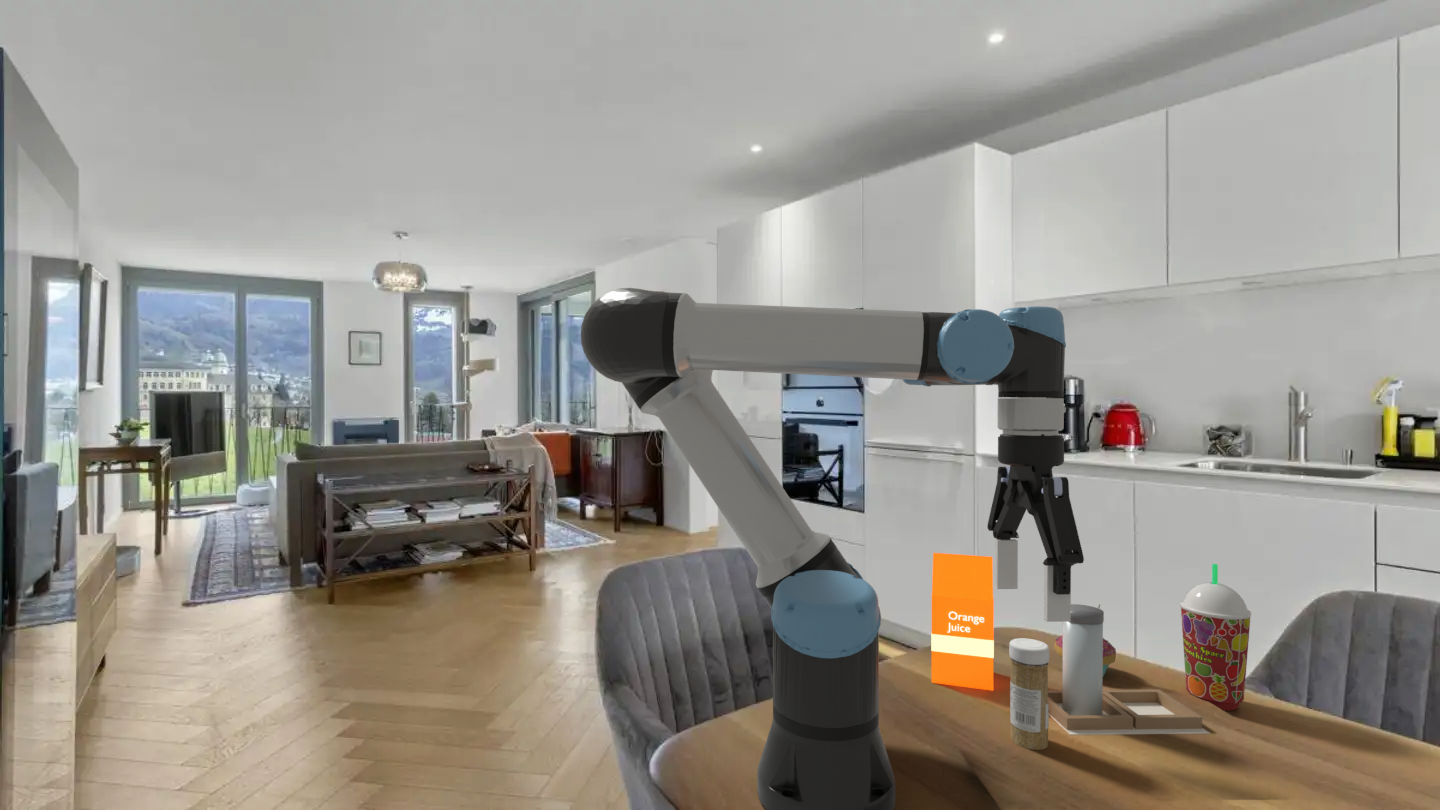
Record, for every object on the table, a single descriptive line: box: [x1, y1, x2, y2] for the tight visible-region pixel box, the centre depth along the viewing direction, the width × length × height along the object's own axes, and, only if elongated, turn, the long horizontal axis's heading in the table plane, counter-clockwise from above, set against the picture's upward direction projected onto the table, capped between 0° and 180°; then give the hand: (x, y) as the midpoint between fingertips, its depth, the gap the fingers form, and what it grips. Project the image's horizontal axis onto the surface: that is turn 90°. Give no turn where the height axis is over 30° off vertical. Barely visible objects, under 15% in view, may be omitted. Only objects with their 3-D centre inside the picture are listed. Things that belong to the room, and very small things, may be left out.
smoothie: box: [1179, 563, 1252, 712], centre depth 101 cm, size 8×8×20 cm
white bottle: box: [1061, 603, 1105, 716], centre depth 94 cm, size 5×5×14 cm
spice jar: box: [1008, 637, 1050, 751], centre depth 87 cm, size 5×5×14 cm
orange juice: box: [930, 552, 995, 692], centre depth 107 cm, size 8×9×20 cm
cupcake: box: [1053, 604, 1117, 677], centre depth 109 cm, size 9×8×12 cm
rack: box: [1048, 688, 1211, 736], centre depth 94 cm, size 18×11×3 cm, turn 91°
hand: (1029, 603), depth 87 cm, fingers open, 13 cm apart
